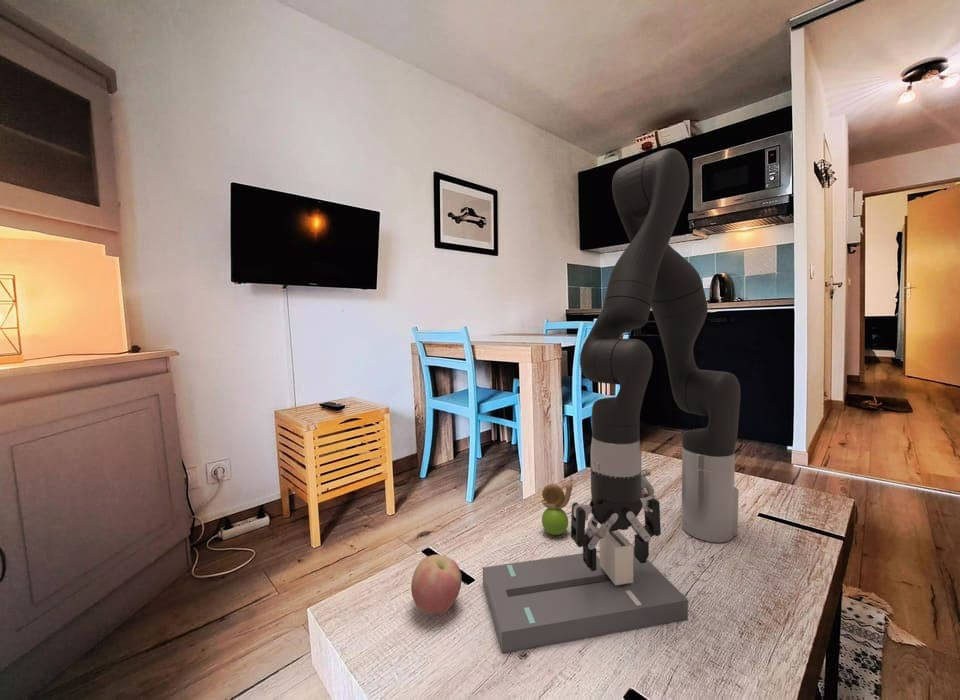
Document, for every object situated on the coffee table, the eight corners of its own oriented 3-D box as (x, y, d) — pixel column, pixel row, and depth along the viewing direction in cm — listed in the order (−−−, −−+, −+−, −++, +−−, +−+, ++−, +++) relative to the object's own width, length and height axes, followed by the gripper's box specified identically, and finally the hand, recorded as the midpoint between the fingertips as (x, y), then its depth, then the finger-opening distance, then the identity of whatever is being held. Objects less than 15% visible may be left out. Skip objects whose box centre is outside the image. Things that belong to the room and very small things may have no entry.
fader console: (634, 561, 71) (634, 545, 71) (687, 619, 57) (688, 599, 57) (483, 584, 66) (482, 566, 66) (502, 653, 52) (501, 631, 52)
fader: (616, 562, 65) (616, 527, 65) (633, 582, 60) (633, 544, 60) (599, 565, 65) (599, 529, 64) (615, 585, 60) (615, 547, 59)
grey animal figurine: (633, 504, 93) (633, 472, 92) (598, 485, 104) (597, 457, 103) (660, 495, 96) (661, 465, 96) (624, 478, 107) (624, 451, 107)
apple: (441, 636, 55) (439, 583, 55) (401, 616, 59) (399, 566, 59) (471, 601, 62) (470, 553, 61) (434, 585, 66) (432, 540, 66)
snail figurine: (573, 542, 78) (573, 483, 77) (541, 539, 79) (540, 482, 78) (572, 527, 83) (572, 473, 82) (542, 525, 84) (541, 471, 83)
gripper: (642, 453, 66) (642, 545, 67) (563, 461, 64) (564, 556, 65) (672, 470, 59) (671, 572, 60) (583, 479, 56) (584, 586, 57)
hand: (615, 564), depth 62 cm, fingers open, 8 cm apart
